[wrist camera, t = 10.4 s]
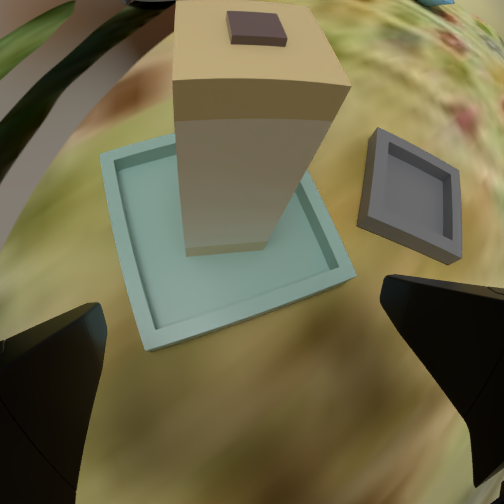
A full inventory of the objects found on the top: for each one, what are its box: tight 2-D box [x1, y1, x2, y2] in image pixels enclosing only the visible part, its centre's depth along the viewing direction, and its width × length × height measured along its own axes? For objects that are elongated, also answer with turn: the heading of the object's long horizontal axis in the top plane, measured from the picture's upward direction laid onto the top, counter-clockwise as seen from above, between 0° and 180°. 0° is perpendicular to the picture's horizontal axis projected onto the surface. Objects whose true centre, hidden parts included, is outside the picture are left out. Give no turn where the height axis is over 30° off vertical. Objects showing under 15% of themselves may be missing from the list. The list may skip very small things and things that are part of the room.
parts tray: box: [99, 133, 357, 352], centre depth 18 cm, size 12×12×2 cm
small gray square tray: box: [357, 127, 462, 265], centre depth 21 cm, size 8×9×2 cm
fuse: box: [172, 0, 351, 257], centre depth 13 cm, size 4×4×12 cm
